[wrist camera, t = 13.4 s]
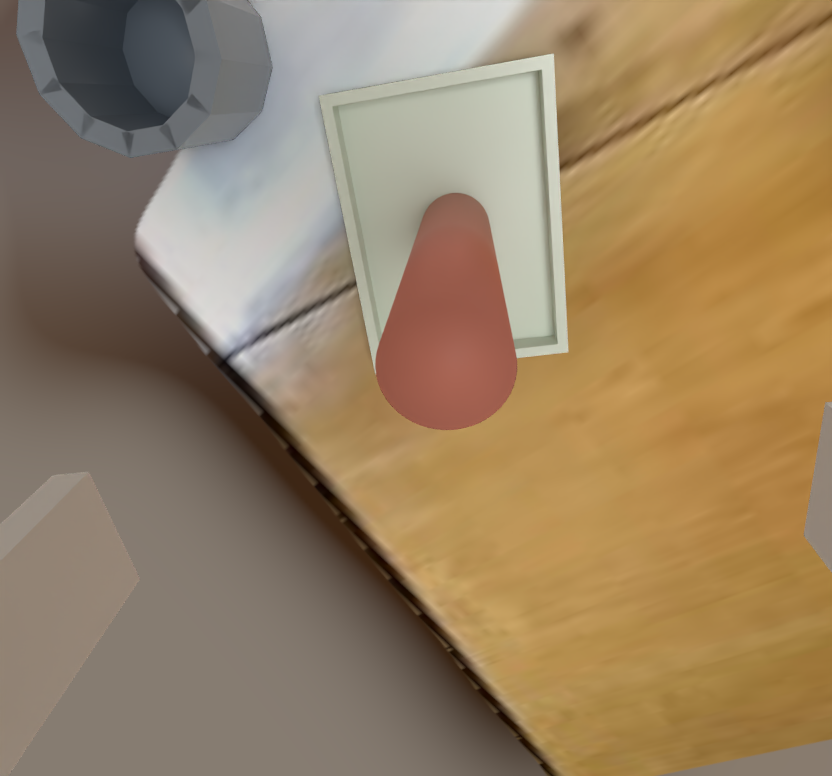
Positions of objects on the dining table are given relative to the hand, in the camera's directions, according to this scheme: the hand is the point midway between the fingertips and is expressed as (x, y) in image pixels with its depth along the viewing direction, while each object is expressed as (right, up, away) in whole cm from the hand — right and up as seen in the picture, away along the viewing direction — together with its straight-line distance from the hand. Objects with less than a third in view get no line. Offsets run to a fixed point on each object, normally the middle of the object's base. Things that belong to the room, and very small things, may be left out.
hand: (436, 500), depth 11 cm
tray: (+2, +12, +24) cm, 27 cm away
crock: (-13, +20, +21) cm, 32 cm away
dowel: (+2, +11, +24) cm, 26 cm away
